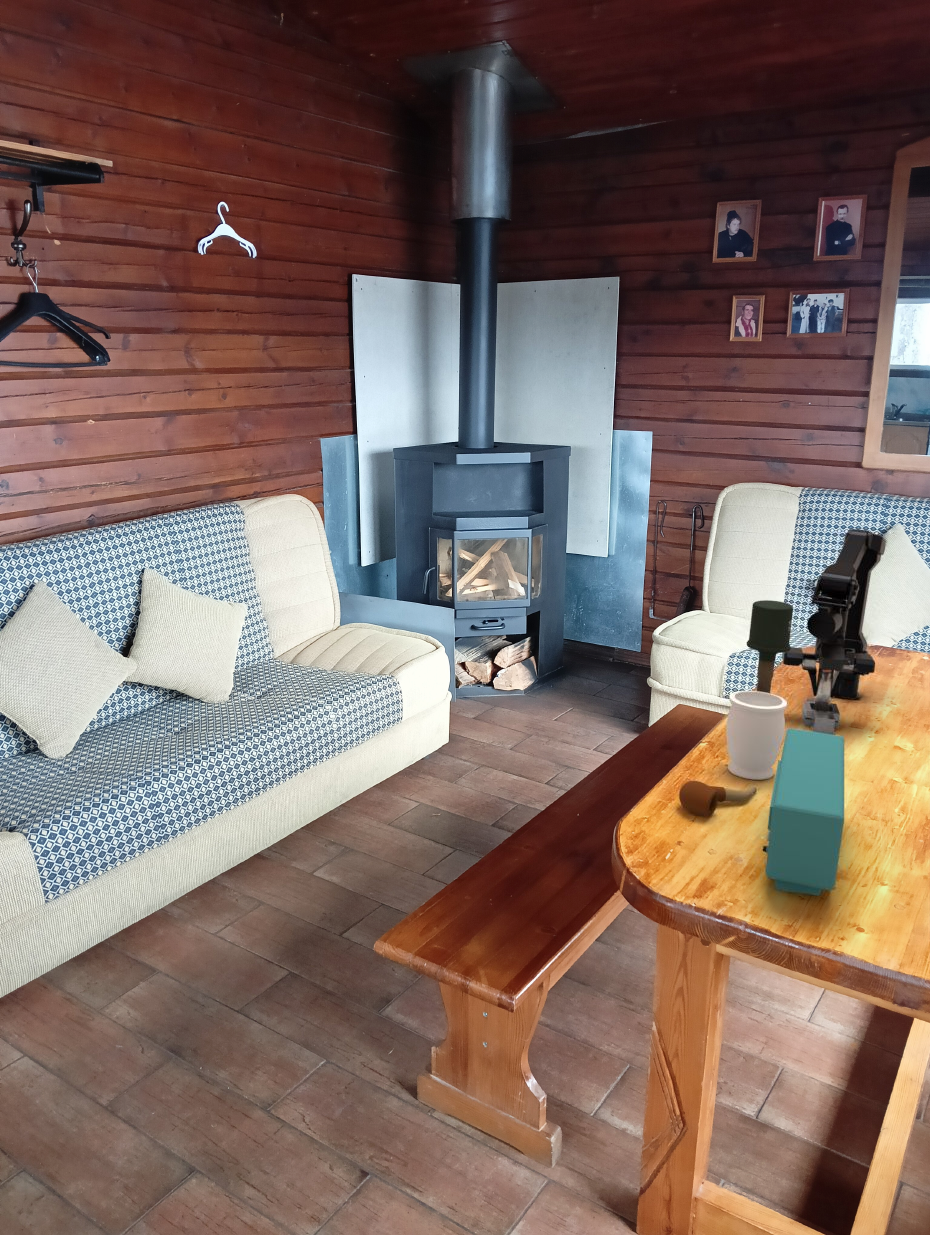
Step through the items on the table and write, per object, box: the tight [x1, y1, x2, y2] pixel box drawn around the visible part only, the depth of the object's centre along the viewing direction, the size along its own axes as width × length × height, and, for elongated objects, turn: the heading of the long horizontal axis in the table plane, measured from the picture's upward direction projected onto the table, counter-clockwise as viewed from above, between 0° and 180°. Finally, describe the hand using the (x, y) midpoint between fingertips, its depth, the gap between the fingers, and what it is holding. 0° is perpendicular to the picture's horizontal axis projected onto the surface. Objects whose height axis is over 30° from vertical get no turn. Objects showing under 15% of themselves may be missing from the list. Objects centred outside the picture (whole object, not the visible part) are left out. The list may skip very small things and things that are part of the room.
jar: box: [725, 690, 788, 781], centre depth 180 cm, size 11×10×15 cm
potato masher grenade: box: [746, 599, 794, 694], centre depth 193 cm, size 8×9×30 cm
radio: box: [762, 728, 845, 896], centre depth 150 cm, size 34×10×15 cm, turn 159°
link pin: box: [814, 667, 835, 711], centre depth 208 cm, size 3×3×10 cm
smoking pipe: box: [678, 780, 758, 818], centre depth 168 cm, size 7×18×6 cm, turn 131°
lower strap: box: [801, 697, 840, 731], centre depth 214 cm, size 16×7×2 cm, turn 165°
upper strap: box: [802, 700, 841, 735], centre depth 208 cm, size 11×7×4 cm, turn 165°
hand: (822, 696), depth 209 cm, fingers closed on link pin, 3 cm apart
